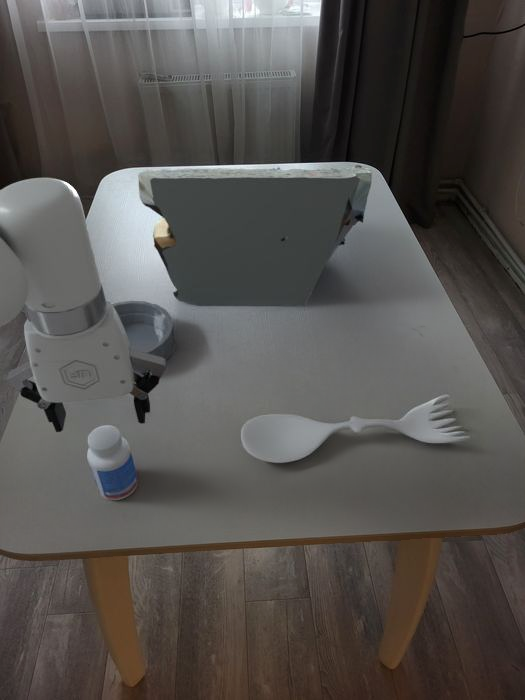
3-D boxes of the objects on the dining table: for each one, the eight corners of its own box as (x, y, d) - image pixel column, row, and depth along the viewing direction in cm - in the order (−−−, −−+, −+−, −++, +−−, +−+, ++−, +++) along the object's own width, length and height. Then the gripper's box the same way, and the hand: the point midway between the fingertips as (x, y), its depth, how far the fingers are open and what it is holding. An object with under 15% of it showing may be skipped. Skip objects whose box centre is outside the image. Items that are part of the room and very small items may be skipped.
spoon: (467, 452, 79) (473, 437, 77) (244, 473, 77) (243, 457, 74) (445, 406, 86) (450, 391, 84) (238, 424, 83) (238, 408, 81)
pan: (102, 391, 89) (96, 371, 86) (72, 338, 99) (66, 318, 96) (190, 357, 95) (188, 337, 92) (154, 311, 105) (151, 291, 102)
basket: (345, 227, 128) (351, 102, 110) (371, 308, 104) (383, 165, 86) (172, 240, 128) (150, 117, 110) (159, 323, 105) (127, 184, 87)
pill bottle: (146, 479, 76) (135, 432, 70) (119, 508, 72) (105, 461, 66) (117, 462, 78) (104, 414, 72) (89, 489, 75) (72, 442, 68)
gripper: (-33, 336, 52) (22, 451, 64) (153, 320, 54) (174, 435, 65) (-13, 290, 58) (34, 403, 69) (155, 277, 59) (174, 390, 71)
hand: (102, 418), depth 67 cm, fingers open, 9 cm apart
